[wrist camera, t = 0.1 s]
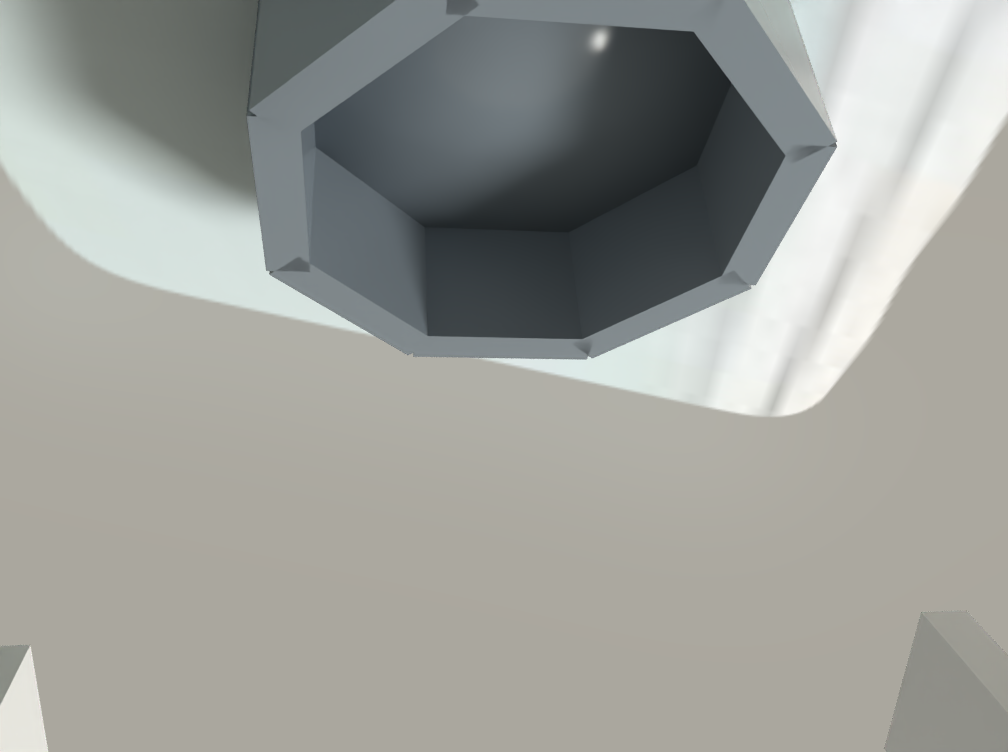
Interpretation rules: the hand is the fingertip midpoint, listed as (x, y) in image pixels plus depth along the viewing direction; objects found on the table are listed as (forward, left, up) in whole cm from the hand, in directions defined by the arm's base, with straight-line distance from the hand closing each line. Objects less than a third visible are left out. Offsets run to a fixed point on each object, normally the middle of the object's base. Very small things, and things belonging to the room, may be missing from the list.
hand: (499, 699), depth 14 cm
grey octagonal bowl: (+1, +2, -15) cm, 15 cm away
